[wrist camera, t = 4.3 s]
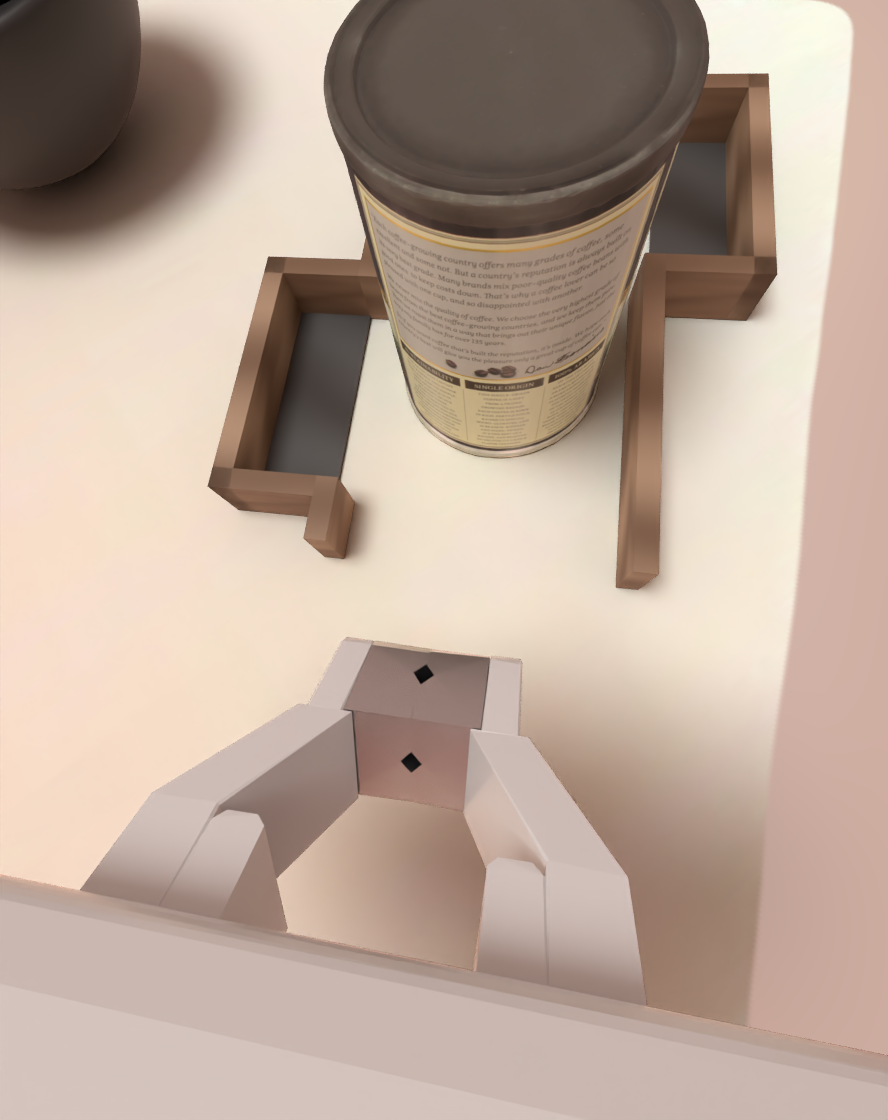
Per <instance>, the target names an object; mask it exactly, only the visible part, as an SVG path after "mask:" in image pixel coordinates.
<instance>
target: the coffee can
mask: <svg viewBox="0 0 888 1120" xmlns="http://www.w3.org/2000/svg"><path fill="white" fill-rule="evenodd" d="M708 64H709V41H708V35H707V29H706V23H705V20H704V18H703V15H702V13H701V10H700V9H699V7H698V5H697V3H696V1H695V0H360V1H359V2H358V3H357V4H356V5H355V6H354V8H353V9H352V10H351V12H350V13H349V14H348V16H347V17H346V19H345V20H344V22H343V23H342V25H341V26H340V28H339V30H338V31H337V33H336V35H335V37H334V39H333V42H332V45H331V47H330V50H329V53H328V56H327V61H326V66H325V73H324V96H325V103H326V108H327V113H328V117H329V120H330V123H331V126H332V130H333V132H334V135H335V137H336V140H337V142H338V144H339V147H340V149H341V151H342V153H343V155H344V158H345V161H346V164H347V168H348V172H349V176H350V179H351V182H352V186H353V190H354V194H355V198H356V201H357V205H358V208H359V212H360V216H361V219H362V223H363V227H364V231H365V235H366V238H367V242H368V246H369V249H370V253H371V256H372V260H373V263H374V267H375V271H376V274H377V277H378V281H379V284H380V288H381V292H382V296H383V299H384V303H385V307H386V310H387V314H388V317H389V321H390V325H391V328H392V332H393V336H394V340H395V344H396V348H397V352H398V355H399V359H400V363H401V366H402V370H403V373H404V377H405V382H406V389H407V394H408V397H409V400H410V403H411V405H412V407H413V409H414V411H415V413H416V415H417V417H418V418H419V420H420V421H421V422H422V424H423V425H424V426H425V427H426V428H427V429H428V430H429V431H430V432H431V433H432V434H433V435H435V436H436V437H437V438H439V439H440V440H441V441H443V442H444V443H446V444H448V445H450V446H451V447H454V448H456V449H458V450H461V451H463V452H466V453H469V454H472V455H476V456H482V457H496V458H505V457H514V456H521V455H525V454H529V453H532V452H535V451H538V450H540V449H543V448H545V447H547V446H549V445H551V444H553V443H556V442H557V441H558V440H560V439H561V438H562V437H563V436H565V435H566V434H567V433H569V432H570V431H571V430H572V429H573V428H574V427H575V426H576V425H577V424H578V423H579V422H580V421H581V420H582V418H583V417H584V416H585V414H586V413H587V411H588V409H589V408H590V406H591V404H592V402H593V399H594V397H595V394H596V391H597V388H598V380H599V377H600V374H601V371H602V368H603V365H604V362H605V359H606V356H607V353H608V350H609V348H610V345H611V342H612V339H613V336H614V333H615V330H616V327H617V324H618V321H619V318H620V315H621V312H622V309H623V307H624V304H625V301H626V298H627V295H628V292H629V290H630V287H631V284H632V281H633V277H634V274H635V271H636V268H637V265H638V262H639V259H640V256H641V253H642V250H643V247H644V244H645V241H646V238H647V235H648V232H649V230H650V227H651V224H652V221H653V218H654V215H655V212H656V209H657V206H658V203H659V200H660V197H661V195H662V192H663V189H664V186H665V183H666V180H667V177H668V174H669V171H670V168H671V165H672V162H673V159H674V156H675V153H676V150H677V147H678V144H679V141H680V139H681V138H682V136H683V134H684V132H685V131H686V129H687V127H688V125H689V123H690V121H691V119H692V117H693V115H694V112H695V110H696V107H697V104H698V102H699V99H700V96H701V93H702V90H703V87H704V84H705V80H706V76H707V72H708Z"/></svg>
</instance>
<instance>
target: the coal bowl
mask: <svg viewBox="0 0 888 1120" xmlns="http://www.w3.org/2000/svg"><path fill="white" fill-rule="evenodd" d="M140 52H141V33H140V16H139V7H138V1H137V0H0V190H14V189H28V188H35V187H40V186H45V185H48V184H52V183H55V182H58V181H61V180H64V179H66V178H69V177H71V176H73V175H75V174H77V173H78V172H80V171H82V170H83V169H85V168H86V167H88V166H89V165H91V164H92V163H93V162H94V161H95V160H97V159H98V158H99V157H100V156H101V155H102V154H103V153H104V152H105V151H106V149H107V148H108V147H109V146H110V145H111V144H112V142H113V141H114V140H115V138H116V137H117V135H118V133H119V132H120V130H121V128H122V126H123V124H124V122H125V120H126V118H127V116H128V114H129V111H130V108H131V105H132V102H133V99H134V95H135V91H136V87H137V81H138V75H139V67H140Z"/></svg>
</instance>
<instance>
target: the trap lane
mask: <svg viewBox="0 0 888 1120" xmlns="http://www.w3.org/2000/svg"><path fill="white" fill-rule="evenodd" d="M776 275H777V260H776V237H775V214H774V191H773V168H772V145H771V122H770V99H769V76H768V74H707V76H706V80H705V84H704V87H703V90H702V93H701V96H700V99H699V102H698V104H697V107H696V110H695V112H694V115H693V117H692V119H691V121H690V123H689V125H688V127H687V129H686V131H685V132H684V134H683V136H682V138H681V139H680V141H679V144H678V147H677V150H676V153H675V156H674V159H673V162H672V165H671V168H670V171H669V174H668V177H667V180H666V183H665V186H664V189H663V192H662V195H661V197H660V200H659V203H658V206H657V209H656V212H655V215H654V218H653V221H652V224H651V227H650V248H649V253H645V254H644V257H643V260H642V262H641V265H640V268H639V271H638V274H637V277H636V280H635V283H634V285H633V288H632V291H631V294H630V297H629V302H628V325H627V347H626V369H625V392H624V414H623V436H622V458H621V481H620V503H619V525H618V548H617V570H616V587H618V588H627V589H637V590H638V589H640V588H641V587H642V586H644V585H645V584H646V583H648V582H649V581H650V580H652V579H653V578H654V577H656V576H657V575H658V574H659V541H660V498H661V456H662V413H663V370H664V327H665V317H683V318H705V319H727V320H747V318H748V317H749V315H750V314H751V312H752V311H753V310H754V308H755V307H756V305H757V304H758V302H759V301H760V299H761V298H762V296H763V295H764V293H765V292H766V290H767V289H768V287H769V286H770V284H771V283H772V281H773V280H774V278H775V277H776ZM371 318H373V319H388V318H389V317H388V314H387V310H386V307H385V303H384V299H383V296H382V292H381V288H380V284H379V281H378V277H377V274H376V271H375V267H374V263H373V260H372V256H371V253H370V249H369V246H368V242H367V238H366V239H365V244H364V249H363V254H362V258H361V260H350V259H321V258H293V257H268V260H267V264H266V268H265V271H264V275H263V279H262V283H261V287H260V290H259V294H258V298H257V302H256V305H255V309H254V313H253V317H252V321H251V324H250V328H249V332H248V336H247V340H246V343H245V347H244V351H243V355H242V358H241V362H240V366H239V370H238V374H237V377H236V381H235V385H234V389H233V392H232V396H231V400H230V404H229V408H228V411H227V415H226V419H225V423H224V427H223V430H222V434H221V438H220V442H219V445H218V449H217V453H216V457H215V461H214V464H213V468H212V472H211V476H210V479H209V483H208V487H209V488H210V489H212V490H213V491H214V492H216V493H217V494H218V495H220V496H221V497H222V498H224V499H225V500H226V501H228V502H229V503H230V504H232V505H233V506H234V507H235V508H237V509H238V510H246V511H257V512H267V513H277V514H288V515H298V516H308V518H307V523H306V528H305V533H304V539H305V540H306V541H307V542H308V543H309V544H311V545H312V546H313V547H314V548H315V549H316V550H317V551H319V552H320V553H321V554H322V555H323V556H324V557H332V558H341V559H344V557H345V551H346V546H347V541H348V535H349V530H350V524H351V519H352V513H353V508H354V503H355V502H354V500H353V499H352V497H351V496H350V494H349V493H348V492H347V490H346V489H345V487H344V486H343V484H342V483H341V481H340V475H341V470H342V465H343V460H344V454H345V449H346V444H347V439H348V434H349V429H350V424H351V419H352V413H353V408H354V403H355V398H356V393H357V388H358V383H359V377H360V372H361V367H362V362H363V357H364V352H365V347H366V342H367V336H368V331H369V326H370V321H371Z"/></svg>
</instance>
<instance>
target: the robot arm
mask: <svg viewBox="0 0 888 1120" xmlns="http://www.w3.org/2000/svg"><path fill="white" fill-rule="evenodd" d="M489 663H490V666H489ZM488 674H489V675H488ZM521 685H522V661H521V659H514V658H505V657H496V656H491V659H490V657H489V656H481V655H473V654H465V653H457V652H449V651H441V650H432V649H427V648H420V647H413V646H407V645H400V644H394V643H387V642H381V641H371V640H364V639H358V638H351V637H346V638H345V639H344V640H343V641H342V642H341V643H340V645H339V647H338V648H337V650H336V652H335V654H334V656H333V658H332V660H331V662H330V663H329V665H328V667H327V669H326V671H325V673H324V675H323V677H322V679H321V680H320V682H319V684H318V686H317V688H316V690H315V692H314V694H313V695H312V697H311V699H310V701H309V703H308V705H304V704H297V705H296V706H294V707H292V708H291V709H289V710H287V711H286V712H284V713H283V714H281V715H279V716H278V717H276V718H274V719H273V720H271V721H269V722H268V723H266V724H264V725H263V726H261V727H259V728H258V729H256V730H255V731H253V732H251V733H250V734H248V735H246V736H245V737H243V738H241V739H240V740H238V741H236V742H235V743H233V744H231V745H230V746H228V747H227V748H225V749H223V750H222V751H220V752H218V753H217V754H215V755H213V756H212V757H210V758H208V759H207V760H205V761H203V762H202V763H200V764H199V765H197V766H195V767H194V768H192V769H190V770H189V771H187V772H185V773H184V774H182V775H180V776H179V777H177V778H175V779H174V780H172V781H170V782H169V783H167V784H166V785H164V786H162V787H161V788H159V789H157V790H156V791H154V792H152V794H151V795H150V796H149V798H148V799H147V800H146V802H145V803H144V804H143V806H142V807H141V808H140V810H139V811H138V812H137V814H136V815H135V816H134V818H133V819H132V821H131V822H130V823H129V825H128V826H127V827H126V829H125V830H124V831H123V833H122V834H121V835H120V837H119V838H118V839H117V841H116V842H115V843H114V845H113V846H112V847H111V849H110V850H109V852H108V853H107V854H106V856H105V857H104V858H103V860H102V861H101V862H100V864H99V865H98V866H97V868H96V869H95V870H94V872H93V873H92V874H91V876H90V877H89V879H88V880H87V881H86V883H85V884H84V885H83V887H82V888H81V889H80V890H75V889H70V888H65V887H60V886H55V885H50V884H46V883H41V882H36V881H31V880H26V879H21V878H16V877H11V876H6V875H1V874H0V1120H888V1055H884V1054H879V1053H874V1052H869V1051H863V1050H859V1049H854V1048H849V1047H844V1046H839V1045H834V1044H829V1043H825V1042H819V1041H815V1040H810V1039H805V1038H800V1037H795V1036H790V1035H785V1034H780V1033H775V1032H770V1031H766V1030H760V1029H756V1028H751V1027H746V1026H741V1025H736V1024H731V1023H727V1022H722V1021H717V1020H712V1019H707V1018H702V1017H697V1016H692V1015H687V1014H683V1013H678V1012H673V1011H668V1010H663V1009H658V1008H653V1007H648V1006H647V1001H646V995H645V988H644V981H643V974H642V968H641V961H640V954H639V947H638V941H637V934H636V927H635V920H634V914H633V907H632V900H631V893H630V887H629V880H628V877H627V875H626V874H625V872H624V871H623V869H622V868H621V867H620V865H619V864H618V862H617V861H616V860H615V858H614V857H613V855H612V854H611V852H610V851H609V850H608V848H607V847H606V845H605V844H604V843H603V841H602V840H601V838H600V837H599V836H598V834H597V833H596V831H595V830H594V828H593V827H592V826H591V824H590V823H589V821H588V820H587V819H586V817H585V816H584V814H583V813H582V811H581V810H580V809H579V807H578V806H577V804H576V803H575V802H574V800H573V799H572V797H571V796H570V795H569V793H568V792H567V790H566V789H565V787H564V786H563V785H562V783H561V782H560V780H559V779H558V778H557V776H556V775H555V773H554V772H553V770H552V769H551V768H550V766H549V765H548V763H547V762H546V761H545V759H544V758H543V756H542V755H541V754H540V752H539V751H538V749H537V748H536V746H535V745H534V744H533V742H532V741H531V739H530V738H528V737H522V736H520V712H521ZM358 794H361V795H368V796H375V797H383V798H390V799H397V800H405V801H412V802H417V803H422V804H427V805H432V806H437V807H442V808H447V809H453V810H458V811H463V812H464V817H465V819H466V821H467V824H468V826H469V829H470V831H471V834H472V836H473V838H474V841H475V843H476V846H477V848H478V851H479V853H480V855H481V858H482V860H483V863H484V865H485V867H486V878H485V885H484V893H483V900H482V907H481V915H480V922H479V930H478V937H477V945H476V952H475V959H474V968H473V971H472V970H468V969H463V968H458V967H453V966H448V965H443V964H438V963H433V962H428V961H424V960H419V959H414V958H409V957H404V956H399V955H394V954H389V953H384V952H380V951H375V950H370V949H365V948H360V947H355V946H350V945H345V944H340V943H335V942H330V941H326V940H321V939H316V938H311V937H306V936H301V935H296V934H291V933H286V931H287V923H286V919H285V915H284V910H283V906H282V901H281V897H280V893H279V888H278V884H277V880H276V878H277V877H278V876H280V875H281V874H282V873H283V872H284V871H285V870H286V869H287V868H288V867H289V866H290V865H291V864H292V863H293V862H294V861H295V860H296V859H297V858H298V857H299V856H300V855H301V854H302V853H303V852H304V851H305V850H306V849H307V848H308V847H309V846H310V845H311V844H312V843H313V842H314V841H315V840H316V839H317V838H318V837H319V836H320V835H321V834H322V833H323V832H324V831H325V830H326V829H327V828H328V827H329V826H330V825H331V824H332V823H333V822H334V821H335V820H336V819H337V818H338V817H339V816H340V815H341V814H342V813H343V812H344V811H345V810H346V809H347V808H348V807H349V806H350V805H351V804H352V803H353V802H354V801H355V800H356V799H358Z"/></svg>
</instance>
